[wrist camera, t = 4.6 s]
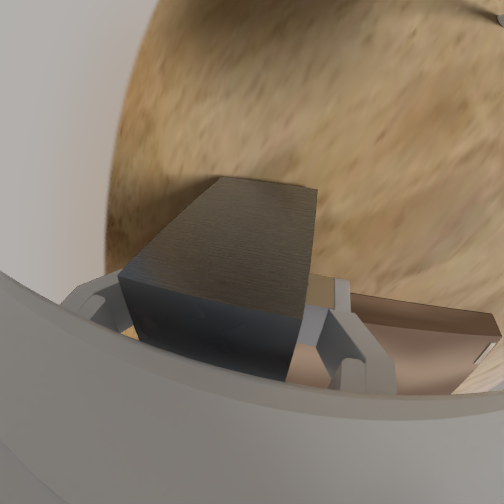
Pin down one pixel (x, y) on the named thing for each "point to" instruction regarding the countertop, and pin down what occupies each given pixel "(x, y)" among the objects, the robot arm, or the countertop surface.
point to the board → (412, 345)
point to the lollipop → (501, 19)
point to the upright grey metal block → (228, 277)
